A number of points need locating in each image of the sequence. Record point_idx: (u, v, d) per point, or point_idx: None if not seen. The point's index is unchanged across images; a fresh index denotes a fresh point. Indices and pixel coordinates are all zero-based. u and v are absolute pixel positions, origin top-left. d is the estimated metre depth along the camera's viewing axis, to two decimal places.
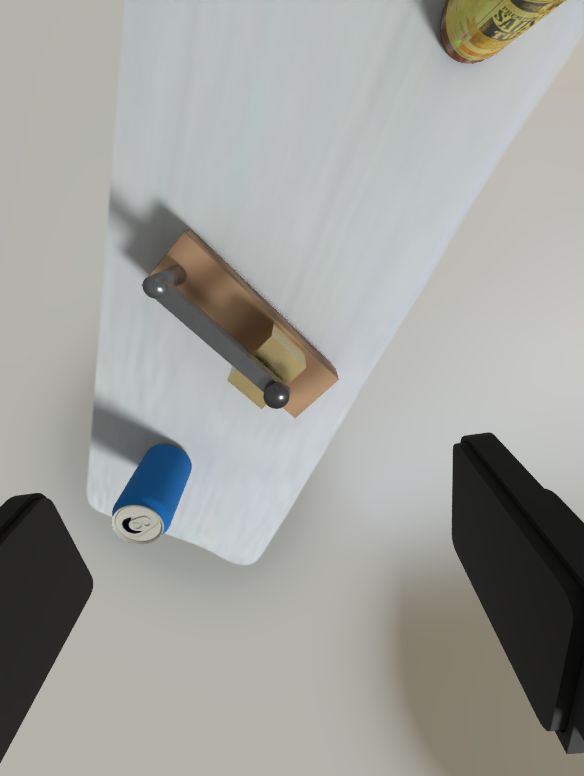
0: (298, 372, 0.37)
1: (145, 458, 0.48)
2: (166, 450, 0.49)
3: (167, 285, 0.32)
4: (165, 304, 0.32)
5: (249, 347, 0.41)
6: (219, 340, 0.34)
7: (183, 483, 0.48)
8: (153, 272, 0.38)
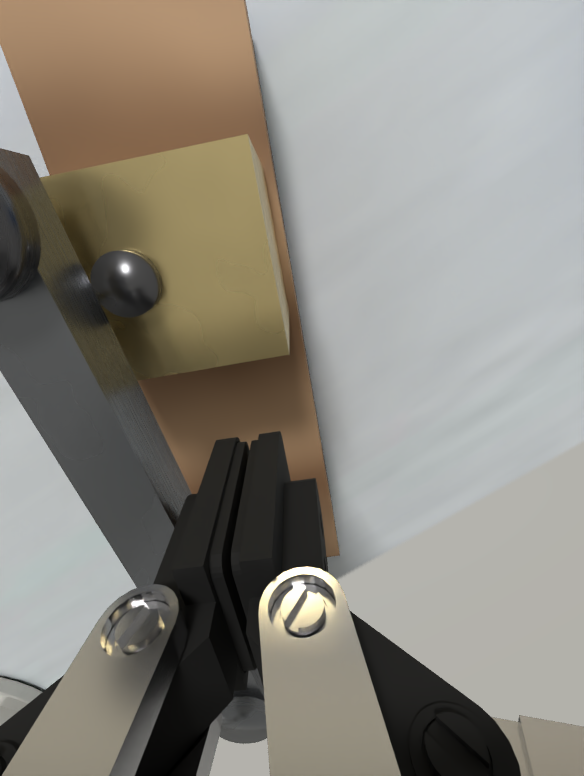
0: None
1: None
2: None
3: None
4: None
5: None
6: (143, 552, 0.09)
7: None
8: None
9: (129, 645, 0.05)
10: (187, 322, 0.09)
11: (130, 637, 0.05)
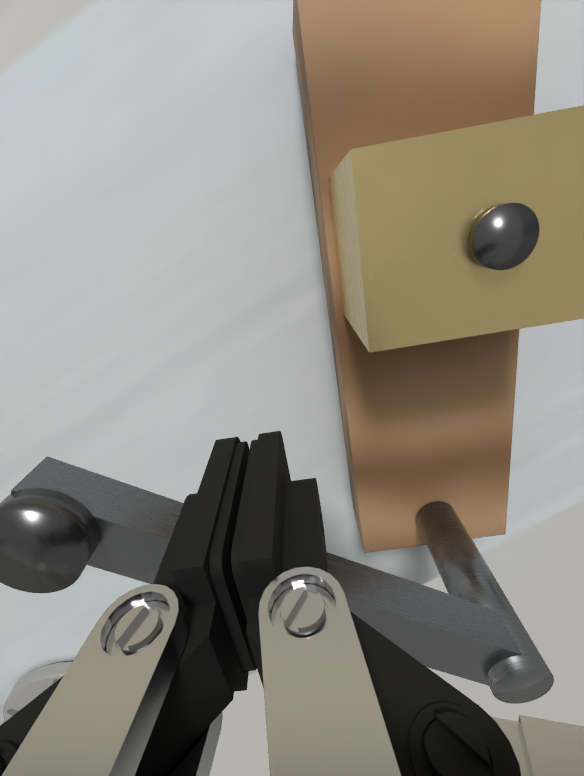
0: (392, 150, 0.08)
1: None
2: None
3: (481, 679, 0.12)
4: (487, 650, 0.11)
5: None
6: None
7: None
8: None
9: (129, 645, 0.05)
10: (537, 278, 0.09)
11: (130, 637, 0.05)
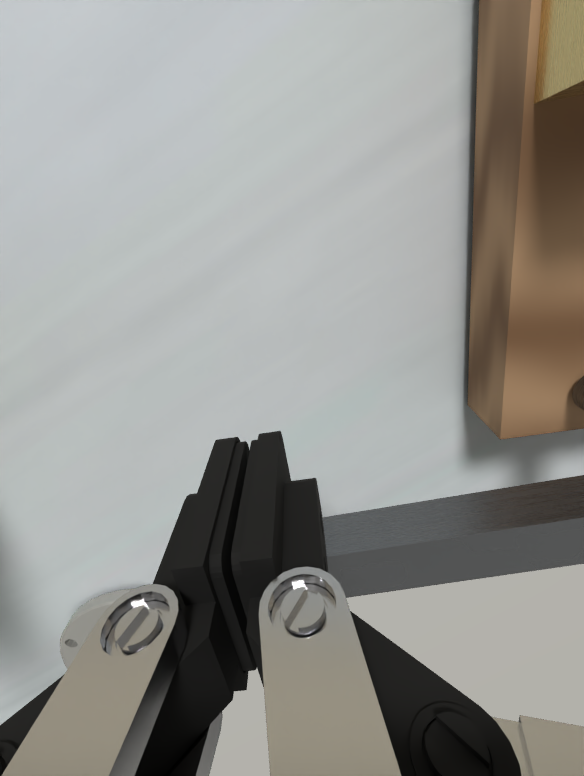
0: None
1: None
2: None
3: None
4: None
5: None
6: (511, 556, 0.10)
7: None
8: None
9: (129, 645, 0.05)
10: None
11: (130, 637, 0.05)
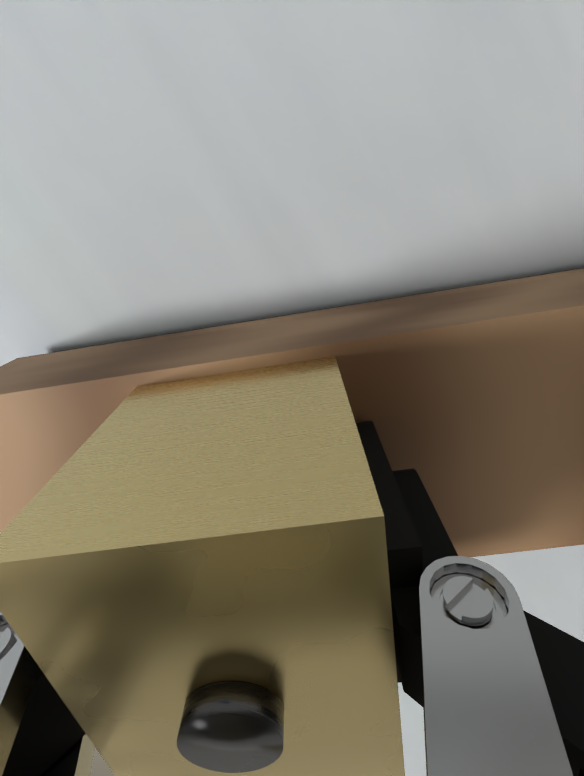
0: None
1: None
2: None
3: None
4: None
5: None
6: None
7: None
8: None
9: None
10: (302, 659, 0.05)
11: None
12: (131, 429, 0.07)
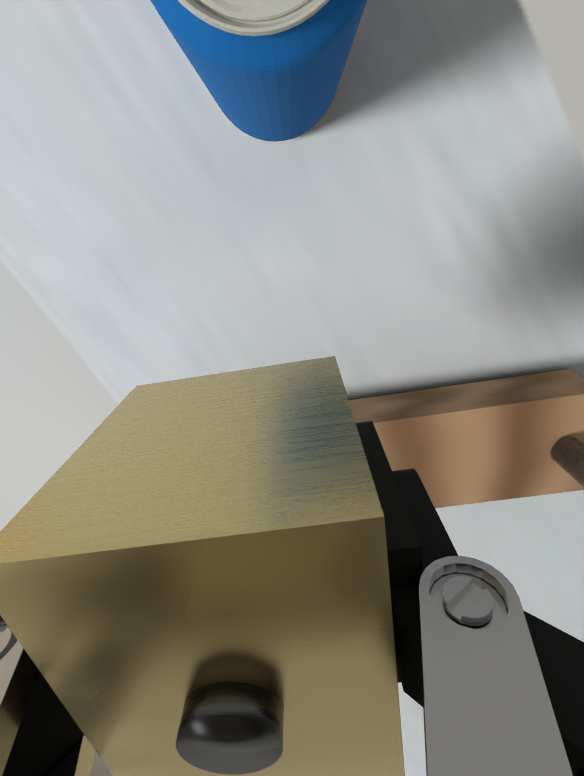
0: None
1: None
2: (318, 115, 0.18)
3: None
4: None
5: None
6: None
7: (225, 105, 0.15)
8: None
9: None
10: (302, 660, 0.05)
11: None
12: (130, 429, 0.07)
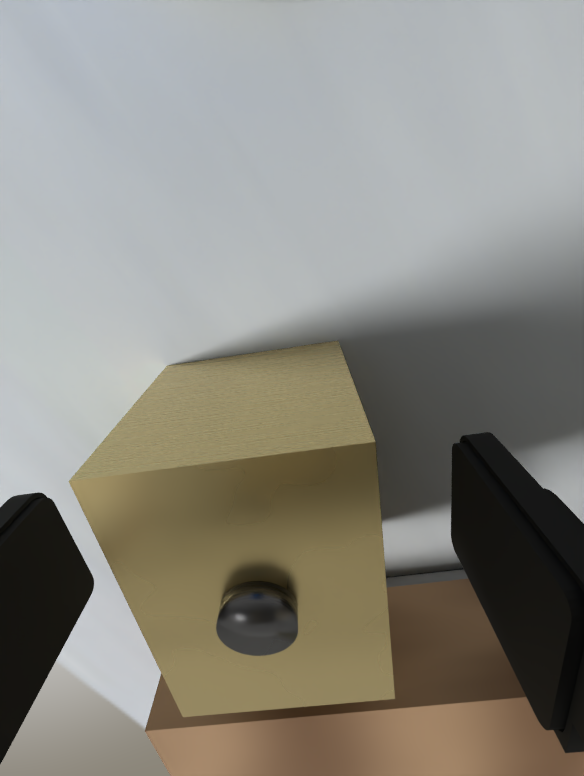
0: (179, 693, 0.08)
1: None
2: None
3: None
4: None
5: None
6: None
7: None
8: None
9: None
10: (313, 562, 0.06)
11: None
12: (171, 395, 0.08)
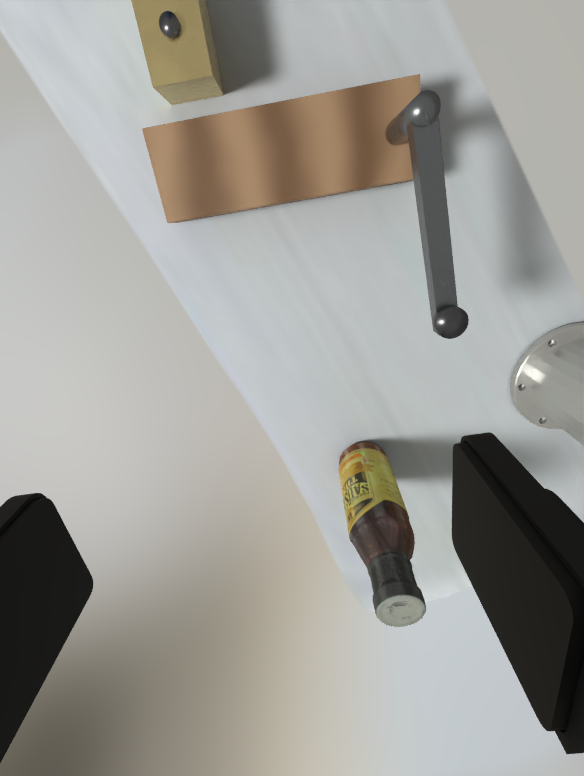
0: (151, 72, 0.28)
1: None
2: None
3: (437, 118, 0.24)
4: (418, 139, 0.25)
5: (212, 37, 0.31)
6: (439, 222, 0.27)
7: None
8: None
9: None
10: (181, 5, 0.27)
11: None
12: None
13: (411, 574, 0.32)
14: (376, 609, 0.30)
